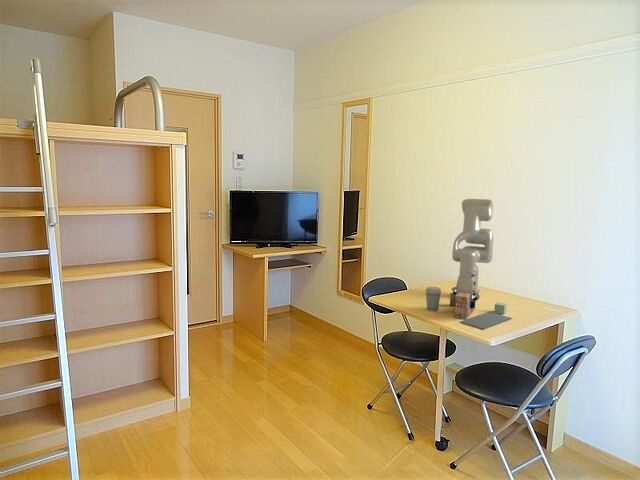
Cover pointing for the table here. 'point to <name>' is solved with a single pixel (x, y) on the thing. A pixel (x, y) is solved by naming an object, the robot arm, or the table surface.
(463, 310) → the stack of blocks
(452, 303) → the walnut cylinder
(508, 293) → the table surface
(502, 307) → the sage cube
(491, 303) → the table surface
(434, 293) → the coffee cup
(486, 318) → the charcoal mat
